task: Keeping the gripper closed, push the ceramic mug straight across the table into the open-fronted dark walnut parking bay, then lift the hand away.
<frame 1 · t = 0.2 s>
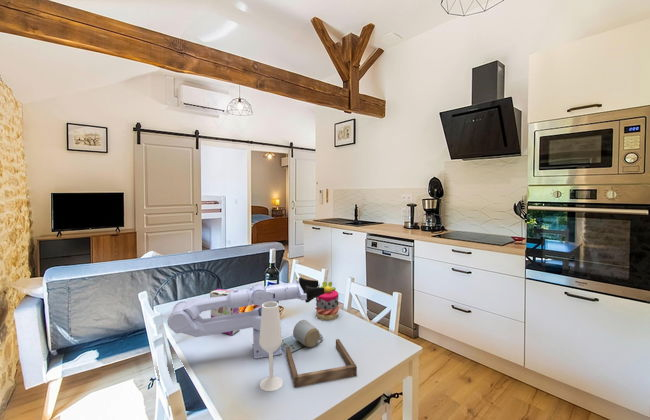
hand: (321, 287, 107), 21 cm above the table, tool horizontal, fingers open, 7 cm apart
champagne flute: (271, 384, 85), on the table
candy bar box: (225, 331, 118), on the table
parking bay: (318, 363, 95), on the table
cake: (327, 316, 132), on the table
ceramic mug: (309, 342, 109), on the table
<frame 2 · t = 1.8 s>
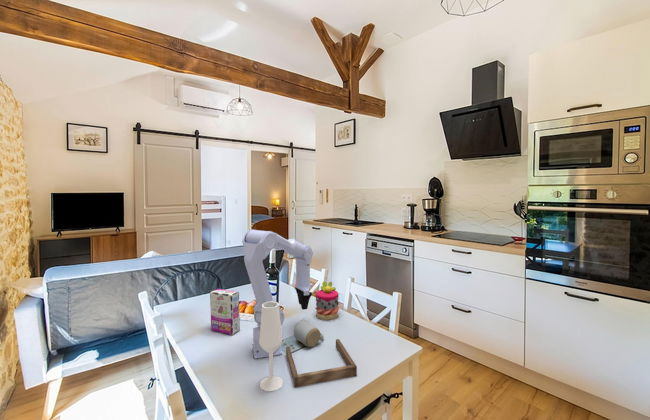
hand: (303, 306, 119), 9 cm above the table, tool pointing down, fingers open, 5 cm apart
nothing on the table moved.
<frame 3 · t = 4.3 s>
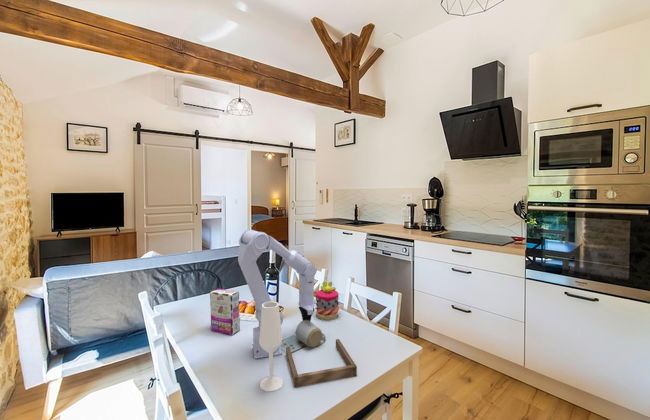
hand: (306, 325, 113), 4 cm above the table, tool pointing down, fingers closed
ceramic mug: (311, 342, 109), on the table, touching gripper
everything else where it was.
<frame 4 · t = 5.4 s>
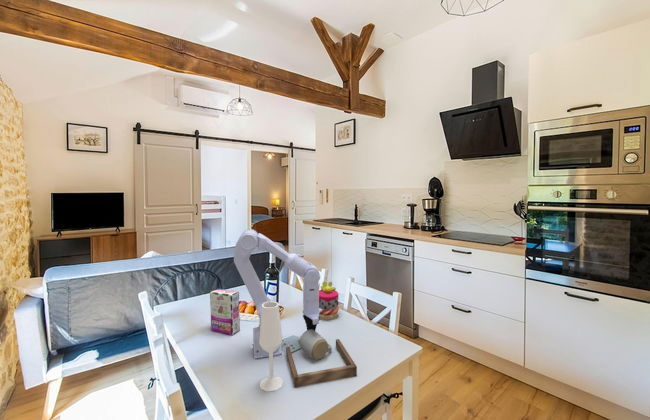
hand: (311, 334, 105), 4 cm above the table, tool pointing down, fingers closed
ceramic mug: (316, 353, 101), on the table, touching gripper
everything else where it was.
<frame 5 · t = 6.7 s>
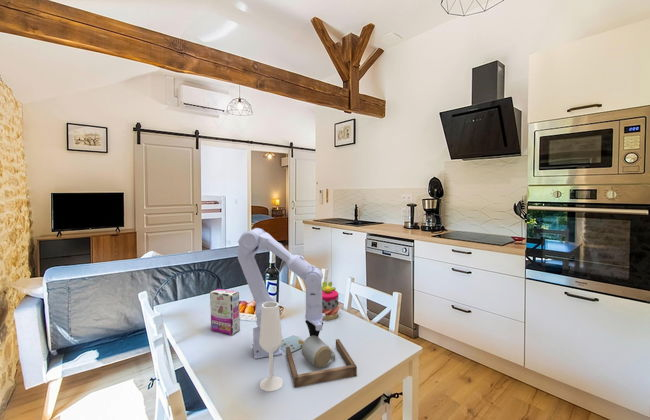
hand: (314, 341, 101), 4 cm above the table, tool pointing down, fingers closed
ceramic mug: (319, 361, 97), on the table, touching gripper
everything else where it was.
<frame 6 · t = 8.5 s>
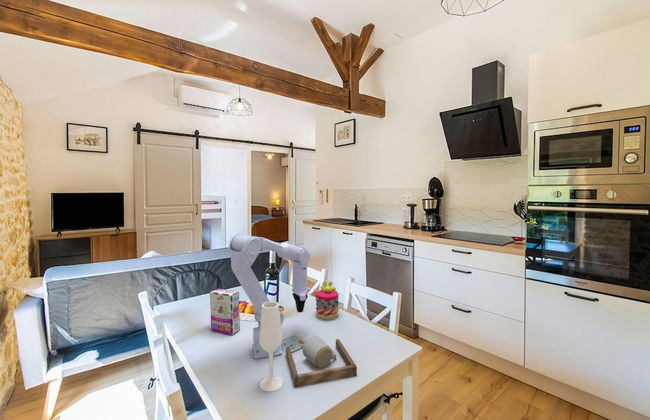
hand: (300, 311, 114), 9 cm above the table, tool pointing down, fingers closed
ceramic mug: (320, 361, 97), on the table
everything else where it was.
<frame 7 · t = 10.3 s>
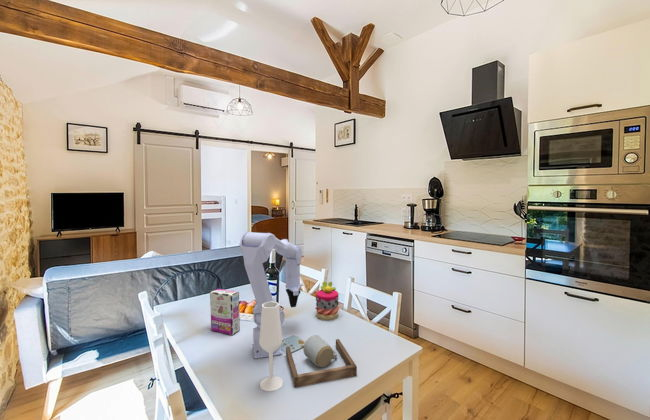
hand: (293, 306, 119), 9 cm above the table, tool pointing down, fingers closed
nothing on the table moved.
at the end: ceramic mug inside the target area (2.4 cm from its centre), on the table; ceramic mug tilted 2°; the gripper is holding nothing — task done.
